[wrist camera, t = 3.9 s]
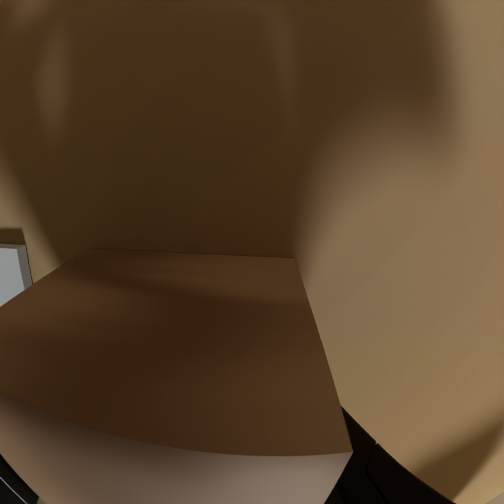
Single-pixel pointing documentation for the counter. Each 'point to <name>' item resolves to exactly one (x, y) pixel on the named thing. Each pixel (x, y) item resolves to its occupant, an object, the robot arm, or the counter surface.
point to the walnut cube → (169, 383)
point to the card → (13, 271)
